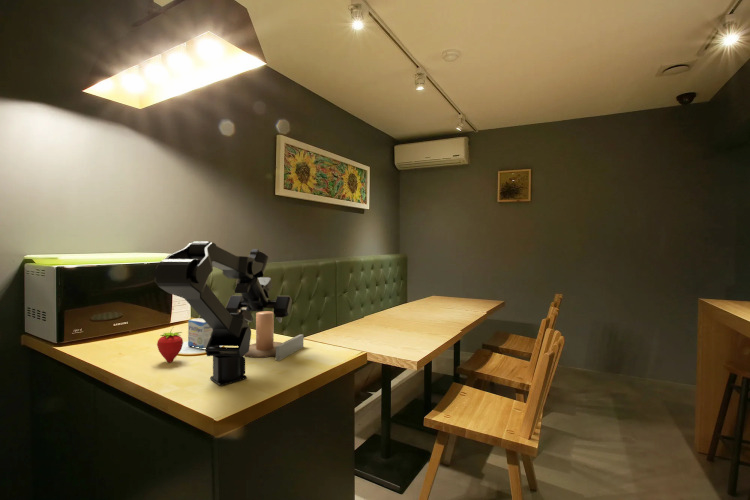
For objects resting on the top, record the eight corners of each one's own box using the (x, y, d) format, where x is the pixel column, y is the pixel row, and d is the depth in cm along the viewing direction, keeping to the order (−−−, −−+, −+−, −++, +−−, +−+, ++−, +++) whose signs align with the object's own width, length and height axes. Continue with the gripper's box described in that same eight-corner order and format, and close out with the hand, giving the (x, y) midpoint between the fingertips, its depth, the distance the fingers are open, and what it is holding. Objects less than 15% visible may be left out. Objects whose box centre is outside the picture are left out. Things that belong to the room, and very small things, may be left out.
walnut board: (254, 361, 99) (254, 358, 99) (233, 350, 109) (233, 348, 109) (297, 350, 109) (297, 347, 109) (273, 341, 119) (273, 339, 119)
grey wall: (279, 360, 100) (279, 346, 99) (275, 360, 100) (275, 346, 100) (303, 346, 113) (303, 334, 113) (300, 346, 113) (300, 334, 113)
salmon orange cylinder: (270, 350, 106) (270, 314, 106) (253, 350, 107) (253, 314, 106) (275, 345, 112) (275, 311, 111) (259, 345, 112) (259, 311, 112)
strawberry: (173, 357, 102) (173, 323, 102) (188, 361, 99) (188, 326, 98) (152, 363, 97) (151, 327, 97) (166, 368, 94) (166, 330, 93)
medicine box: (187, 346, 113) (187, 320, 113) (200, 343, 117) (199, 317, 117) (203, 350, 110) (203, 322, 110) (215, 346, 114) (215, 319, 114)
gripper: (290, 269, 104) (300, 300, 115) (229, 268, 105) (245, 299, 116) (281, 299, 96) (293, 330, 107) (216, 299, 98) (234, 329, 109)
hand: (266, 320), depth 110 cm, fingers open, 9 cm apart
